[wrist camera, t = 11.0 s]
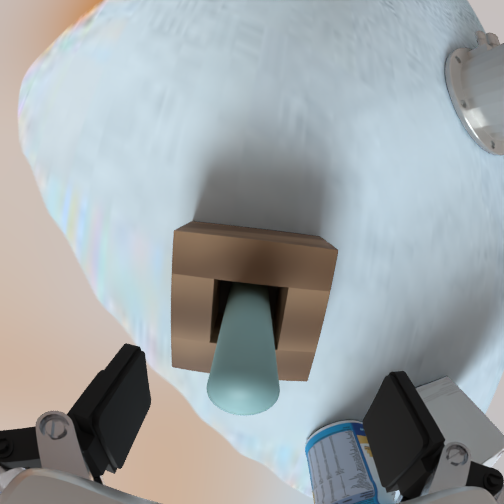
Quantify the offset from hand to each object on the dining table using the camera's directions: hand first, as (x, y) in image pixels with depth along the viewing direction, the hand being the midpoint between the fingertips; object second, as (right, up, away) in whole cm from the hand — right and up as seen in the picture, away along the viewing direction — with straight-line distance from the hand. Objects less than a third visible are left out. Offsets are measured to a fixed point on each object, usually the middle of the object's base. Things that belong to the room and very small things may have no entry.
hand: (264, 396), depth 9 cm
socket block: (-1, +2, +13) cm, 13 cm away
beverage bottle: (+10, -18, +18) cm, 27 cm away
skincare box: (+21, -13, +17) cm, 29 cm away
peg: (-1, +2, +13) cm, 13 cm away
